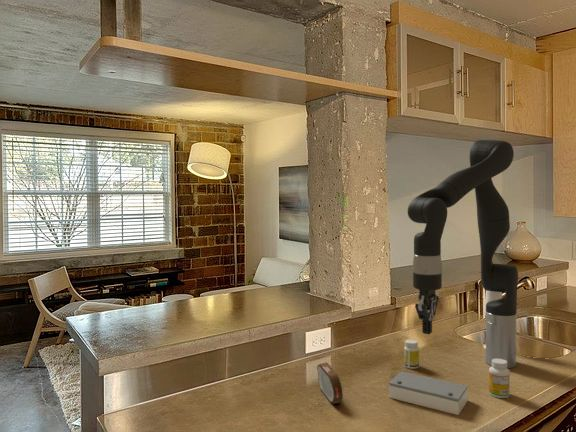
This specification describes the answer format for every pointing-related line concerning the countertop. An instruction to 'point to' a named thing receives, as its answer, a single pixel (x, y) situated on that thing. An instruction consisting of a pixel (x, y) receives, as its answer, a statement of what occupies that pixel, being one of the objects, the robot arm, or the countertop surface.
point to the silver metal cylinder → (491, 299)
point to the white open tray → (428, 399)
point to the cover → (429, 385)
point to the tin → (329, 383)
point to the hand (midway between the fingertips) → (427, 333)
